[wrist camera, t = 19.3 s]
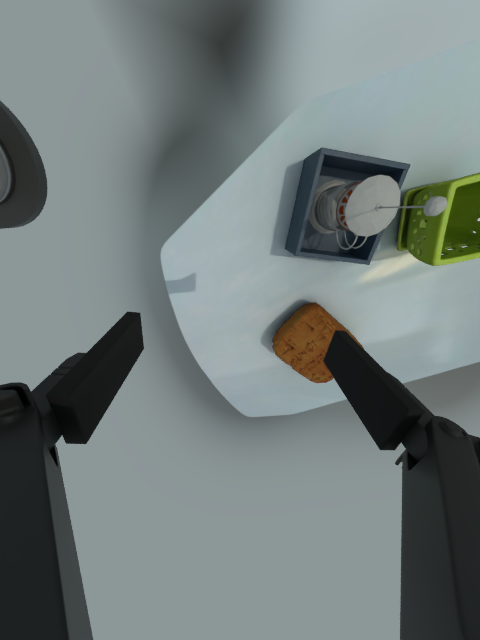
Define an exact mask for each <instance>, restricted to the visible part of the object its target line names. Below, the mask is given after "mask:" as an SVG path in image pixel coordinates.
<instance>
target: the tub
mask: <svg viewBox="0 0 480 640" xmlns="http://www.w3.org/2000/svg"><path fill="white" fill-rule="evenodd" d="M409 167H410V164H406V163H401V162H395V161H390V160H385V159H379V158H374V157H369V156H364V155H358V154H353V153H348V152H342V151H337V150H332V149H327V148H320V149H319V150H317V151H316V152H314V153H313V154H311V155H310V156H308V157H307V158H305V160H304V164H303V169H302V173H301V178H300V183H299V187H298V192H297V196H296V201H295V205H294V210H293V214H292V219H291V224H290V228H289V233H288V237H287V242H286V246H285V249H286V250H288V251H289V252H291V253H292V254H294V255H296V256H304V257H312V258H320V259H328V260H335V261H343V262H351V263H359V264H367V265H369V264H370V261H371V259H372V256H373V254H374V252H375V249H376V247H377V244H378V242H379V239H380V237H381V235H382V232H383V230H384V229H383V230H382V231H380V232H379V233H378V234H374V235H371V236H368V237H367V239H366V241H365V242H364V244H363V245H362V246H361V247H359V248H356V249H354V248H350V249H347V250H345V249H342V248H341V247H340V246H339V245H338V243H337V239H336V232H333V233H330V234H326V233H320V232H318V231H317V230H315V229H314V228H313V226H312V225H311V223H310V221H309V214H310V210H311V206H312V202H313V198H314V194H315V192H316V190H318V189H319V188H320V187H321V186H322V185H323V184H325V183H327V182H330V181H333V180H338V181H344V182H345V183H346V184H347V183H351V182H356V181H360V182H363V181H364V180H366V179H367V178H369V177H373V176H376V175H385V176H390V177H391V178H392V179H393V180H394V181H396V182H397V184H398V187H399V190H400V189H401V186H402V184H403V181H404V179H405V177H406V174H407V172H408V169H409ZM345 232H346V239H347V242H348V243H349V245H352V244H353V243H354V241H355V239H356V235H354V233H353V232H352V231H346V230H345ZM337 235H338V241H339V243H340V245H341V246H342V247H344V248H349V246H348V245H347V243H346V240H345V235H344V231H343V230H340V231H337ZM365 237H366V236H358V238H357V240H356V242H355V244H354V245H353V246H352V247H358V246H359V245H361V244H362V242H363V241H364V239H365Z"/></svg>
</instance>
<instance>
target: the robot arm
mask: <svg viewBox="0 0 480 640" xmlns="http://www.w3.org/2000/svg"><path fill="white" fill-rule="evenodd" d="M14 188H15V171H14V167H13V163H12V160H11V158H10V156H9V153H8V151H7V149H6V148H5V146H4V144H3V143H2V141H1V140H0V205H1V204H3V203H5V202H6V201H7V200H8V199H9V198H10V197H11V195H12V194H13V191H14ZM143 349H144V346H143V336H142V326H141V317H140V313H136V312H127V313H126V314H125V315H124V316H123V317H122V318H121V319H120V320H119V321H118V322H117V323H116V324H115V325H114V326H113V327H112V328H111V329H110V330H109V331H108V332H107V333H106V334H105V335H104V336H103V337H102V338H101V339H100V340H99V341H98V342H97V343H96V344H95V345H94V346H93V347H92V348H91V349H90V350H89V351H88V352H87V353H77V354H75V355H73V356H72V357H69V358H68V359H66V360H65V361H64V362H63V363H62V364H61V365H60V366H59V367H58V368H57V369H55V370H54V371H53V372H52V373H51V375H49V376H48V377H47V378H46V379H45V380H43V381H42V382H41V383H40V384H39V385H38V386H37V387H36V388H35V389H34V390H33V391H32V392H31V391H30V389H29V387H28V386H27V385H26V384H23V383H8V384H4V385H0V640H93V637H92V631H91V627H90V620H89V615H88V610H87V605H86V600H85V594H84V589H83V584H82V578H81V573H80V568H79V562H78V557H77V552H76V547H75V541H74V536H73V530H72V525H71V520H70V515H69V509H68V504H67V499H66V493H65V488H64V484H63V478H62V473H61V467H60V462H59V456H58V451H57V447H56V445H55V443H56V442H57V441H58V440H59V438H60V437H61V435H63V437H64V440H65V442H66V443H68V444H69V443H70V444H86V443H87V442H88V440H89V439H90V437H91V435H92V433H93V431H94V430H95V429H96V427H97V425H98V424H99V422H100V420H101V419H102V417H103V415H104V414H105V412H106V410H107V409H108V407H109V405H110V404H111V402H112V400H113V399H114V397H115V395H116V394H117V392H118V390H119V389H120V387H121V385H122V384H123V382H124V380H125V379H126V377H127V376H128V374H129V372H130V371H131V369H132V367H133V365H134V364H135V362H136V361H137V359H138V357H139V356H140V354H141V352H142V351H143ZM323 362H324V363H325V365H326V366H327V368H328V370H329V371H330V373H331V374H332V376H333V377H334V379H335V380H336V382H337V384H338V385H339V387H340V388H341V390H342V391H343V393H344V394H345V396H346V398H347V399H348V401H349V402H350V404H351V405H352V407H353V408H354V410H355V412H356V413H357V414H358V416H359V418H360V419H361V421H362V423H363V424H364V426H365V427H366V429H367V430H368V432H369V433H370V435H371V437H372V438H373V440H374V441H375V443H376V444H377V446H378V447H379V449H380V450H395V449H396V448H397V446H398V445H399V444H400V443H401V442H402V444H403V445H404V447H405V448H406V450H405V451H404V452H403V453H402V454H401V456H400V457H399V458H398V459H397V460H396V462H395V464H396V465H399V463H400V462H403V466H402V540H401V542H402V545H401V612H400V615H401V616H400V640H480V438H479V437H475V436H472V435H469V434H467V433H466V431H465V430H464V429H463V428H461V427H460V426H459V425H457V424H456V423H454V422H452V421H450V420H449V419H446V418H443V417H439V416H434V415H433V414H432V413H431V412H430V411H429V410H428V409H427V408H426V407H425V406H424V405H423V404H422V403H421V402H420V401H419V400H418V399H417V398H416V397H415V396H414V395H413V394H411V392H410V391H409V390H408V389H407V388H405V386H404V385H403V384H402V383H401V382H400V381H399V380H398V379H397V378H395V377H394V376H392V375H391V374H389V373H388V372H386V371H385V370H384V369H383V368H382V367H381V366H380V365H379V364H378V363H377V362H376V361H375V360H374V359H373V358H372V357H371V356H370V355H369V354H368V353H367V352H366V351H365V350H364V349H363V348H362V347H361V346H360V345H359V344H358V343H357V342H356V341H355V340H354V339H353V338H352V337H351V336H350V335H349V334H348V333H347V332H346V331H341V330H335V332H334V335H333V337H332V340H331V342H330V345H329V347H328V350H327V352H326V355H325V357H324V360H323Z"/></svg>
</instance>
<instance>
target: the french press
mask: <svg viewBox="0 0 480 640" xmlns="http://www.w3.org/2000/svg"><path fill="white" fill-rule="evenodd" d="M400 194H401V193H400V190H399V187H398V184H397V182H396V181H394V180H393V179H392V178H391V177H390V176H385V175H376V176H373V177H369V178H367V179H366V180H364V181H363V182H360V181H356V182H351V183H347V184H346V183H345V182H344V181H338V180H333V181H330V182H327V183H325V184H323V185H322V186H321V187H320V188H319V189H318V190H316V192H315V194H314V198H313V202H312V206H311V210H310V214H309V221H310V223H311V225H312V226H313V228H314V229H315V230H317V231H318V232H320V233H326V234H330V233H333V232H336V239H337V243H338V245H339V246H340V247H341V248H342V249H345V250H347V249H350V248H354V249H356V248H359V247H361V246H362V245H363V244H364V242H365V241H366V239H367V237H368V236H371V235H374V234H378V233H379V232H380V231H382V230H383V229H385V228H386V227H387V226H388V225H389V224H390V222H391V221H392V220H393V218H394V217H395V215H396V213H397V210H398V208H424V214H425V215H426V216H436V215H438V214H440V213H441V212H443V211H444V210H445V208H446V207H447V200H446V198H445V197H440V196H435V197H432V198H430V199H429V200H428V201H427V202H426V204H425V206H399V205H400ZM340 230H343V231H344V235H345V240H346V243H347V245H348V246H349V248H344V247H342V246H341V245H340V243H339V241H338V235H337V231H340ZM345 230H346V231H352V232H353V233H354V235H356V239H355V241H354V243H353V244H352V245H349V243H348V242H347V239H346V232H345ZM358 236H366V237H365V239H364V241H363V242H362V244H361V245H359V246H358V247H352V246H353V245H354V244H355V242H356V240H357V238H358Z"/></svg>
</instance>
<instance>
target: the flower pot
mask: <svg viewBox="0 0 480 640" xmlns="http://www.w3.org/2000/svg"><path fill="white" fill-rule="evenodd" d="M435 196H440V197H445V198H446V200H447V207H446V208H445V210H444V211H443V212H441V213H440V214H438V215H436V216H426V215H425V214H424V208H402V212H401V219H400V226H399V233H398V238H397V250H398V251H402V250H407V249H408V250H409V252H410V253H411V254H412V255H413V256H414V257H415V258H417V259H418V260H420V261H422V262H424V263H426V264H429V265H432V266H439V265H446V264H452V263H457V262H462V261H467V260H471V259H476V258H480V221H477V219H478V218H480V173H477V174H473V175H469V176H465V177H462V178H458V179H454V180H449V181H445V182H441V183H436V184H432V185H428V186H423V187H419V188H415V189H412V190H409V191H407V192H406V193H405V195H404V200H403V206H425V204H426V202H427V201H428V200H429V199H430V198H432V197H435ZM473 230H474V231H476V234H475V233H473ZM461 246H468V247H464V248H462V247H461ZM447 249H453V250H447ZM441 253H442V254H444V255H441Z"/></svg>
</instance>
